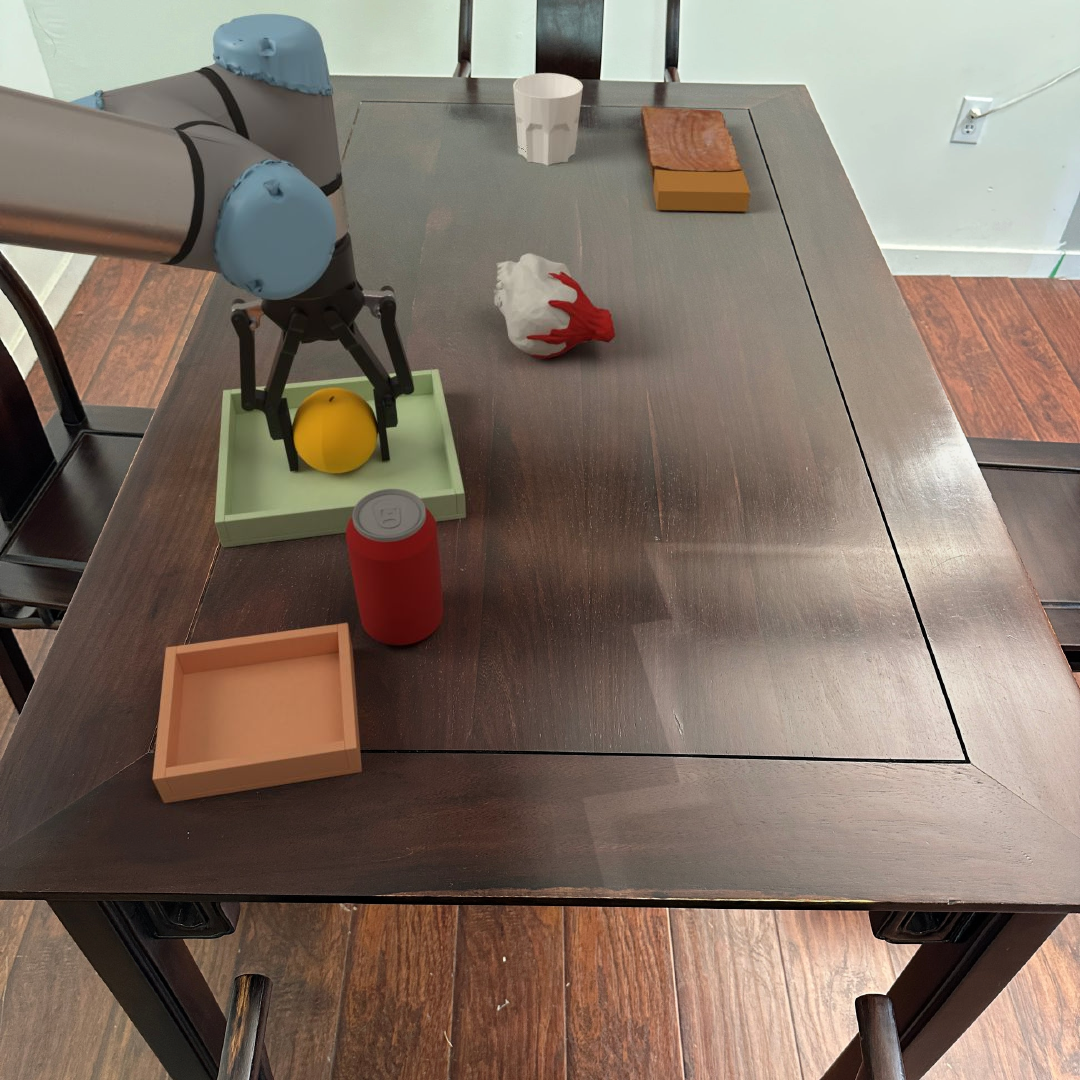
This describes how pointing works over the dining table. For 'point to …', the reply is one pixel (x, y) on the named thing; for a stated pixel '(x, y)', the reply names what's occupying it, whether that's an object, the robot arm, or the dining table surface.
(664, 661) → the dining table surface
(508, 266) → the candle
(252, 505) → the fruit tray
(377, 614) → the beverage can
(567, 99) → the cup
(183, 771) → the drink tray
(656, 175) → the wooden board
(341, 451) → the orange
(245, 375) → the robot arm
